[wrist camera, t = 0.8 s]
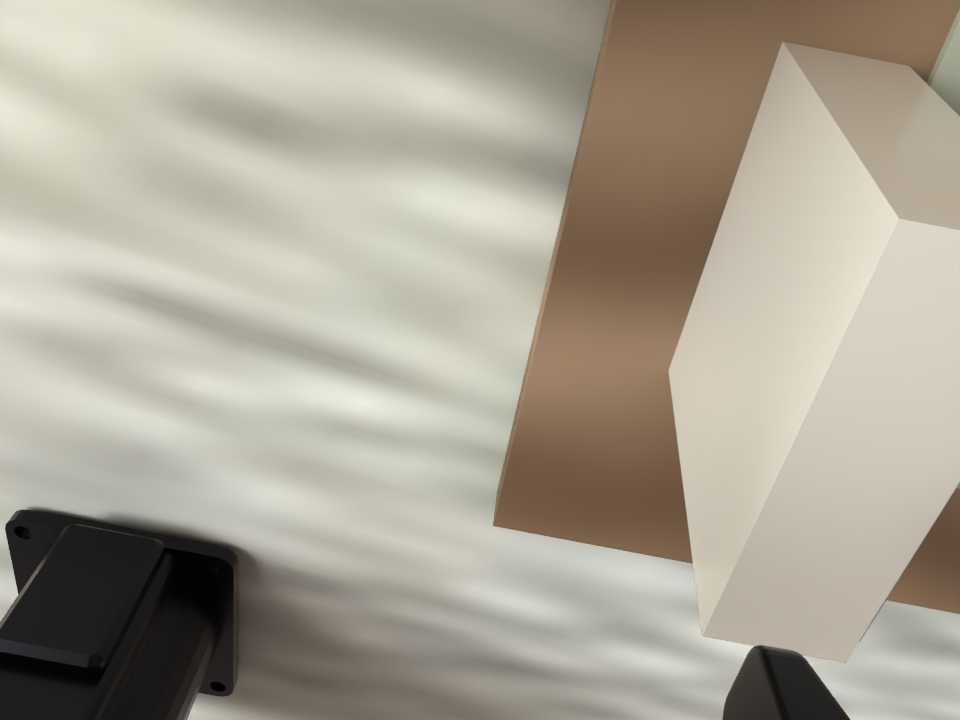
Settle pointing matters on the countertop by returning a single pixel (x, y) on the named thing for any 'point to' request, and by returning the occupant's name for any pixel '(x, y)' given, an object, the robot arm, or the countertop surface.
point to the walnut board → (674, 260)
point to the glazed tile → (823, 356)
